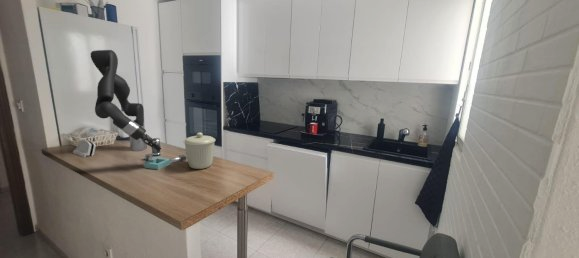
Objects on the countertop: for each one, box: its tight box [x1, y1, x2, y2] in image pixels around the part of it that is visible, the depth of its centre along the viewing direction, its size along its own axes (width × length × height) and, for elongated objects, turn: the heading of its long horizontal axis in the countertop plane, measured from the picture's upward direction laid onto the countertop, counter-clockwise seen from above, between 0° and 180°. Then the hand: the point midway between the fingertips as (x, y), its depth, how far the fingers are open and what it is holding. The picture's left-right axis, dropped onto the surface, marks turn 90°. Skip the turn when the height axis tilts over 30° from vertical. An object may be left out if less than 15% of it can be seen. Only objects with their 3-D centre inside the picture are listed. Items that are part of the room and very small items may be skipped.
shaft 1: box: [144, 153, 155, 161], centre depth 150 cm, size 12×4×3 cm, turn 47°
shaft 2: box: [169, 154, 188, 164], centre depth 150 cm, size 12×4×3 cm, turn 137°
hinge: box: [72, 139, 97, 158], centre depth 157 cm, size 17×5×10 cm, turn 62°
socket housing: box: [143, 156, 172, 171], centre depth 143 cm, size 10×10×3 cm
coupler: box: [151, 137, 162, 158], centre depth 140 cm, size 5×5×10 cm
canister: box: [183, 132, 216, 170], centre depth 143 cm, size 18×18×21 cm
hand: (159, 148), depth 142 cm, fingers closed on coupler, 4 cm apart
